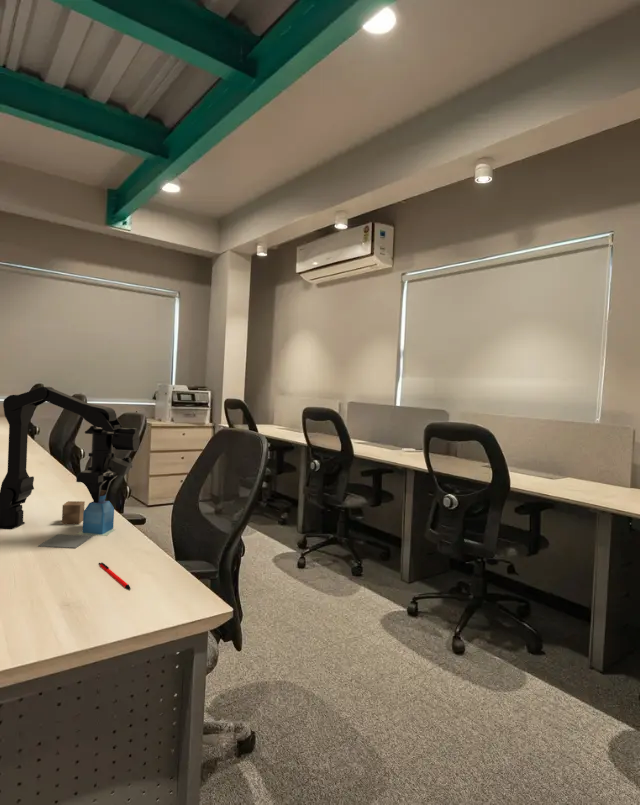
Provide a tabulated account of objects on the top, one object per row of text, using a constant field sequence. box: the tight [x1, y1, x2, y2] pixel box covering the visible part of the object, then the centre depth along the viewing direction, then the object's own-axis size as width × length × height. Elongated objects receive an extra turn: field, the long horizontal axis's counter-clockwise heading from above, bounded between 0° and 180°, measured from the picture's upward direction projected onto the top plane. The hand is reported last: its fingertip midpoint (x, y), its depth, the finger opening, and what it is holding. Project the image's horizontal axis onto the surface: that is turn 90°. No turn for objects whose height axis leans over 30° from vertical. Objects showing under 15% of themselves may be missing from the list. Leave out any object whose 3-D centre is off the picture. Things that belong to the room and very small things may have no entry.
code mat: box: [76, 528, 115, 537], centre depth 147 cm, size 9×9×1 cm
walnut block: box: [61, 500, 86, 525], centre depth 154 cm, size 5×5×6 cm
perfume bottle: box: [82, 490, 115, 534], centre depth 147 cm, size 6×6×12 cm
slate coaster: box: [37, 533, 93, 549], centre depth 136 cm, size 10×10×1 cm
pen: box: [98, 562, 131, 590], centre depth 115 cm, size 1×19×1 cm, turn 43°
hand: (99, 500), depth 147 cm, fingers open, 4 cm apart
